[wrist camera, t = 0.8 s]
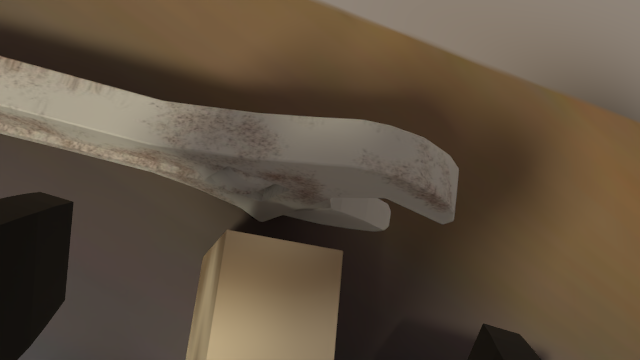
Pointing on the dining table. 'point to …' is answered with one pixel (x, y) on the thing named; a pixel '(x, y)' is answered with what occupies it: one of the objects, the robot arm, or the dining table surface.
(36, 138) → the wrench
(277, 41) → the dining table surface
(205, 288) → the tan rectangular block
